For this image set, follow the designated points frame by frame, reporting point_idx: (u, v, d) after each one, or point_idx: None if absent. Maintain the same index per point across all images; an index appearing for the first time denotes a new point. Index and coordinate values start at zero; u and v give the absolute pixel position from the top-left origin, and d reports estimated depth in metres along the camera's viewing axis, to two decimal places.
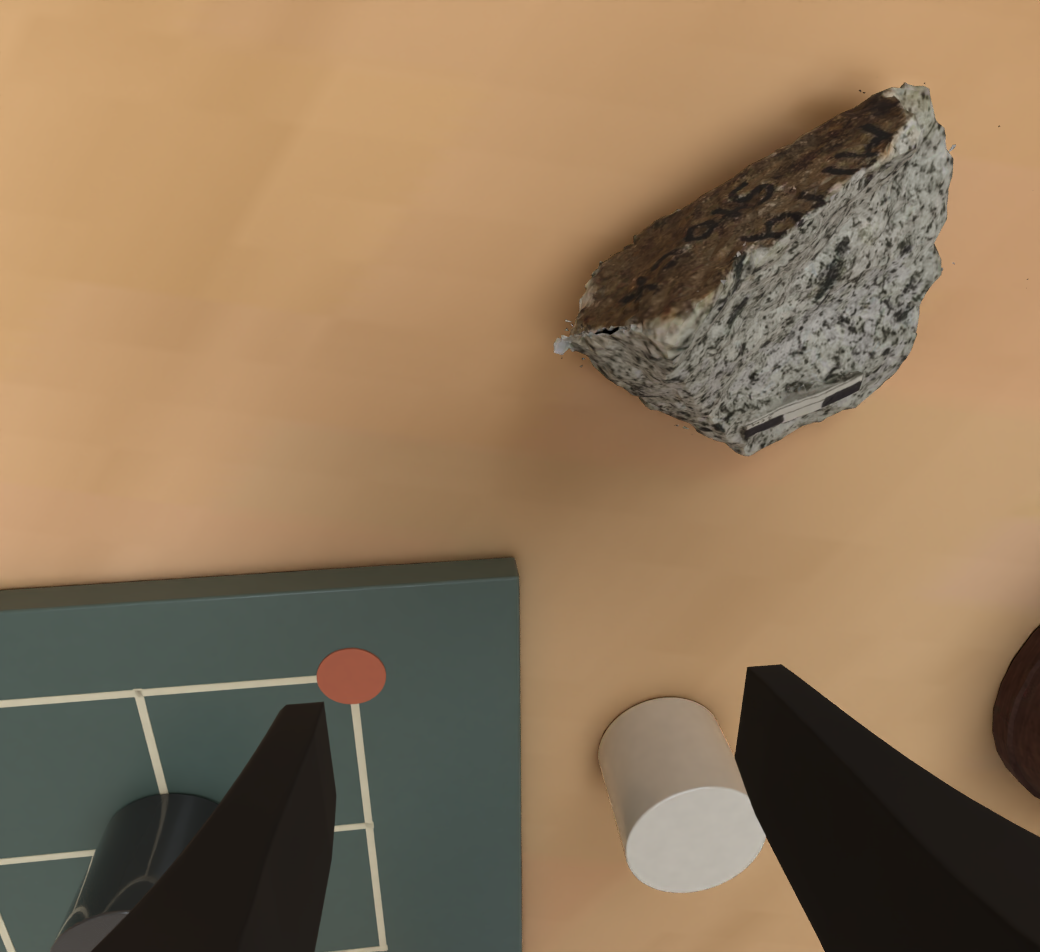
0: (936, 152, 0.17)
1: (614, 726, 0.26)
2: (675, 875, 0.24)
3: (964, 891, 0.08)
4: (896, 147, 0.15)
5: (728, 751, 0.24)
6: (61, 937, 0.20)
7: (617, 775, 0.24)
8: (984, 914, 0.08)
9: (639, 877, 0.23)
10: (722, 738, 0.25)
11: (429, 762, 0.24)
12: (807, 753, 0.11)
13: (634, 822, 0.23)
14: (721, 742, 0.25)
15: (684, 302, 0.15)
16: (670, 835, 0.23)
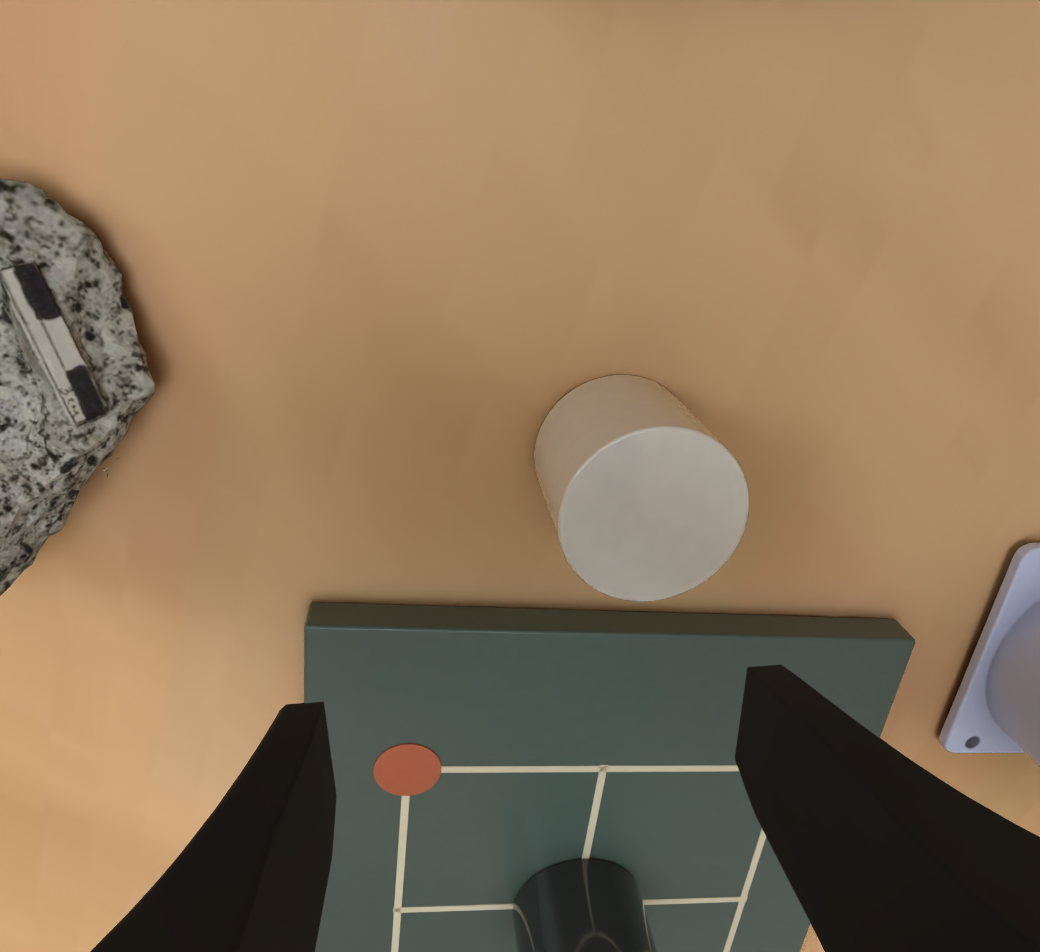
0: None
1: None
2: (705, 544, 0.18)
3: (964, 891, 0.08)
4: None
5: (580, 420, 0.18)
6: None
7: None
8: (984, 914, 0.08)
9: (692, 586, 0.18)
10: (576, 412, 0.19)
11: (534, 714, 0.23)
12: (807, 753, 0.11)
13: (597, 590, 0.18)
14: (572, 422, 0.18)
15: None
16: (630, 552, 0.18)
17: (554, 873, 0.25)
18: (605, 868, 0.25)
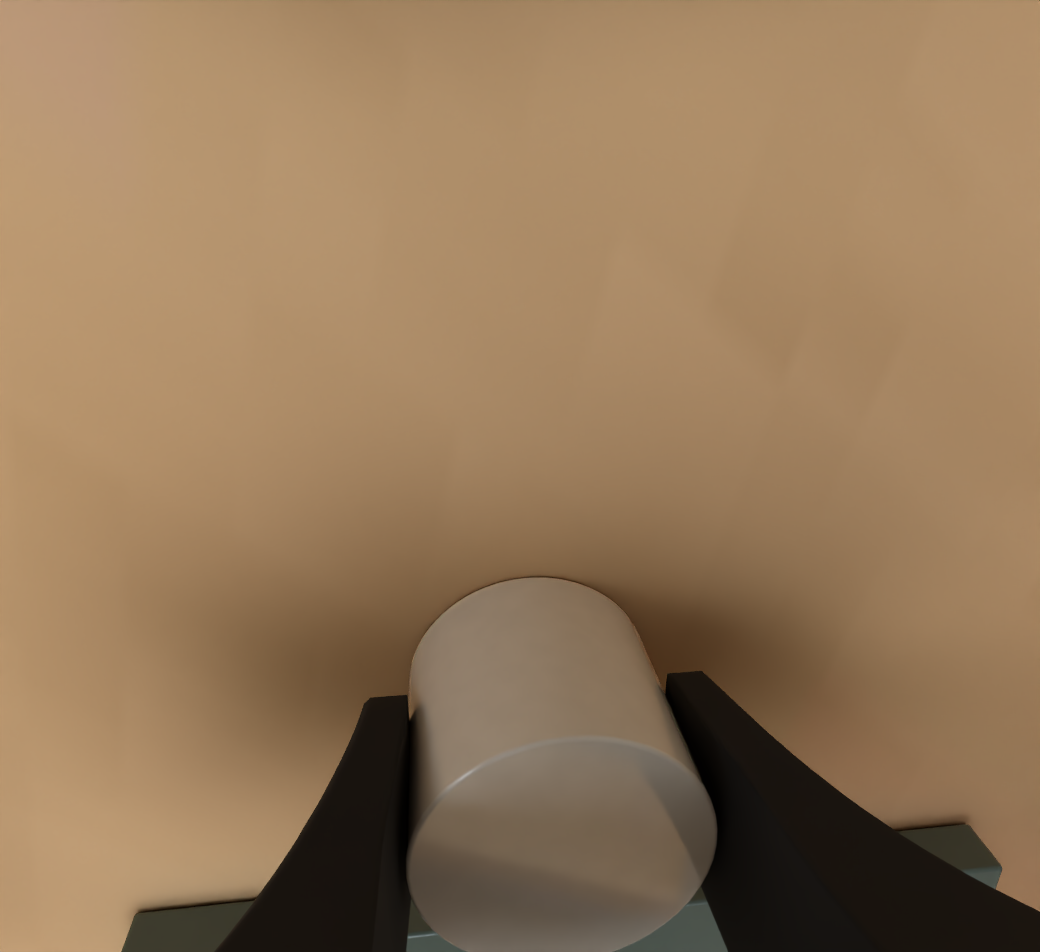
0: None
1: None
2: (654, 881, 0.11)
3: (836, 906, 0.08)
4: None
5: (443, 691, 0.12)
6: None
7: None
8: (852, 929, 0.08)
9: (644, 935, 0.11)
10: (442, 666, 0.12)
11: None
12: (714, 762, 0.11)
13: None
14: (434, 687, 0.12)
15: None
16: (534, 908, 0.11)
17: None
18: None
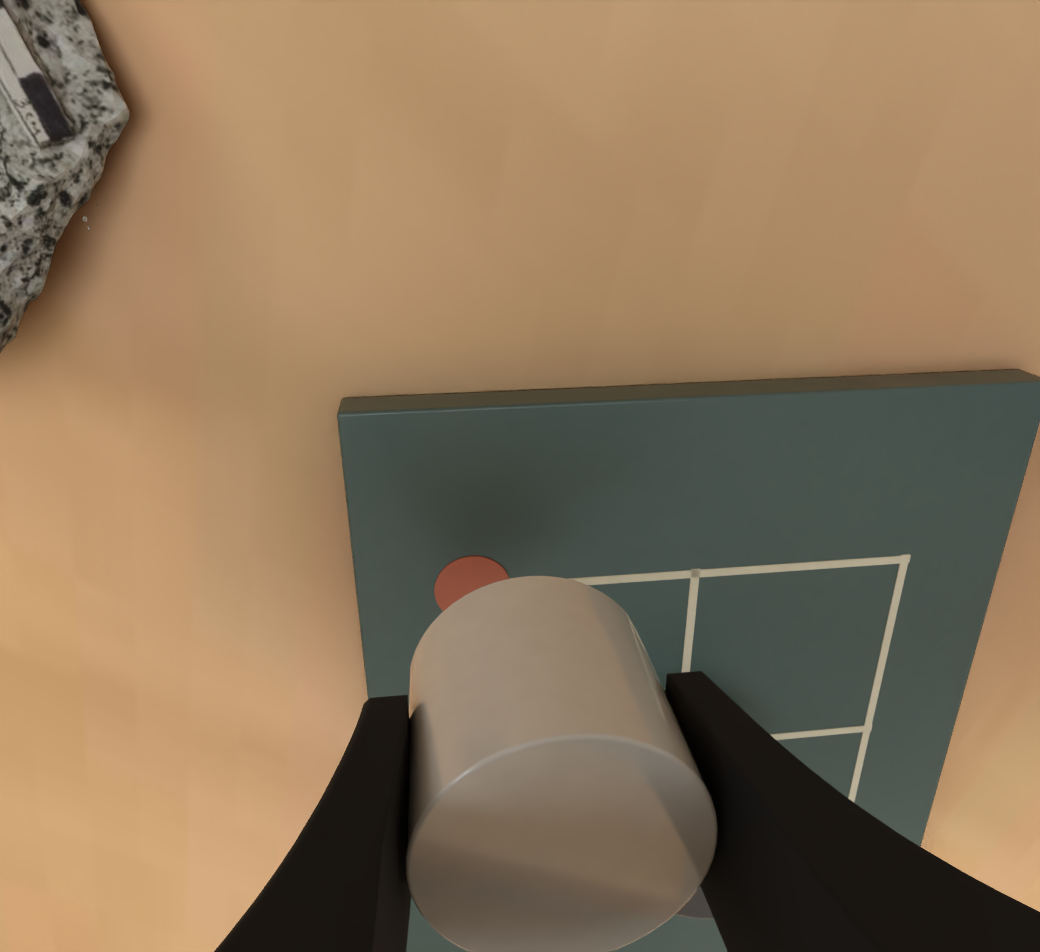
0: None
1: None
2: (654, 879, 0.11)
3: (836, 906, 0.08)
4: None
5: (443, 689, 0.12)
6: None
7: None
8: (852, 930, 0.08)
9: (644, 933, 0.11)
10: (442, 664, 0.12)
11: (610, 509, 0.20)
12: (714, 762, 0.11)
13: None
14: (434, 685, 0.12)
15: None
16: (534, 906, 0.11)
17: None
18: None
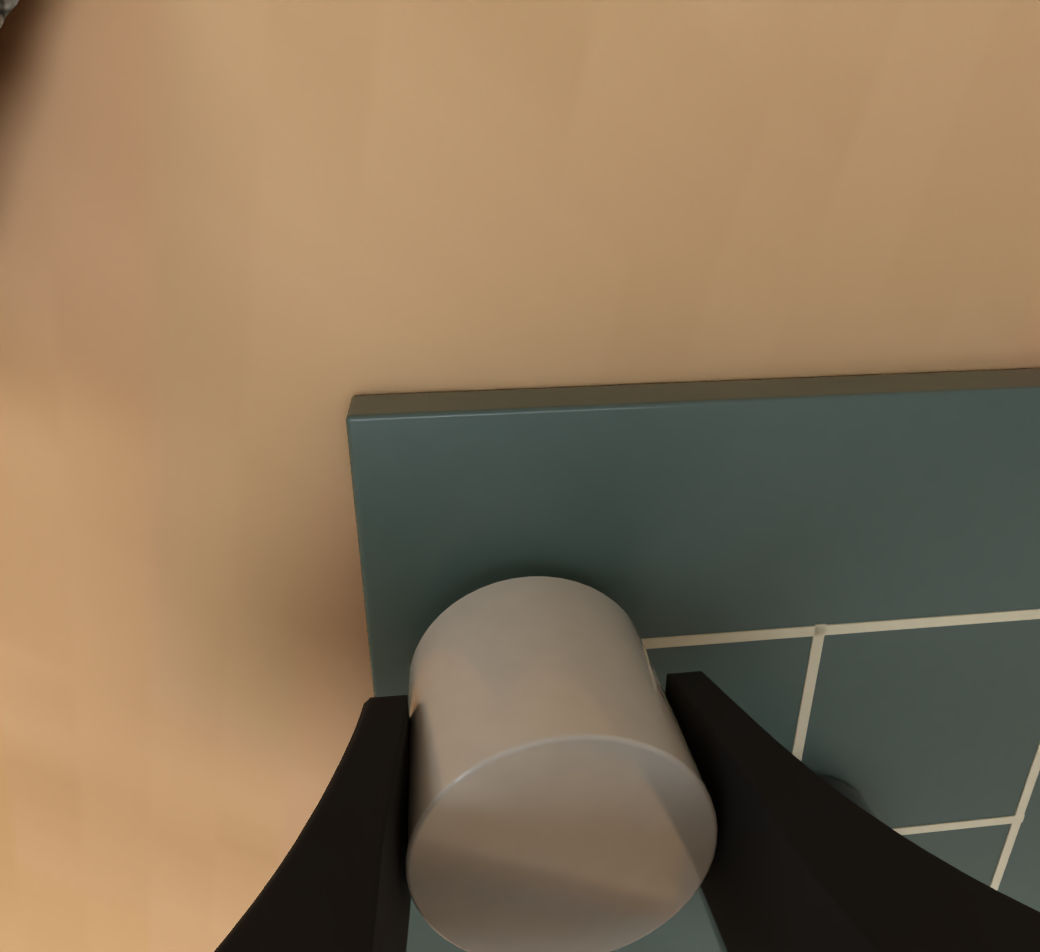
0: None
1: None
2: (654, 880, 0.11)
3: (836, 906, 0.08)
4: None
5: (442, 690, 0.12)
6: None
7: None
8: (852, 929, 0.08)
9: (644, 934, 0.11)
10: (442, 664, 0.12)
11: (714, 547, 0.15)
12: (714, 762, 0.11)
13: None
14: (434, 686, 0.12)
15: None
16: (534, 907, 0.11)
17: None
18: None
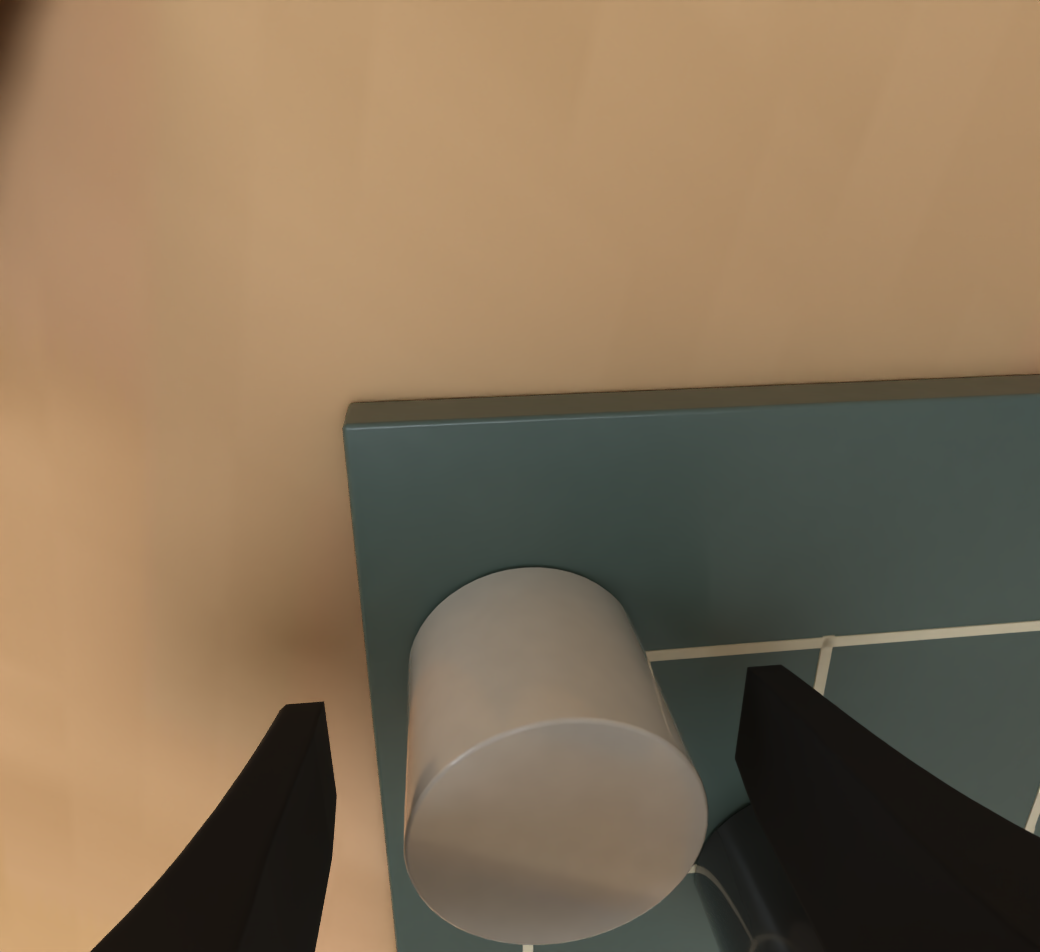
0: None
1: None
2: (647, 861, 0.11)
3: (964, 891, 0.08)
4: None
5: (440, 676, 0.12)
6: None
7: None
8: (984, 914, 0.08)
9: (637, 914, 0.12)
10: (440, 653, 0.12)
11: (720, 557, 0.14)
12: (807, 753, 0.11)
13: (491, 937, 0.12)
14: (432, 673, 0.12)
15: None
16: (529, 887, 0.11)
17: None
18: None
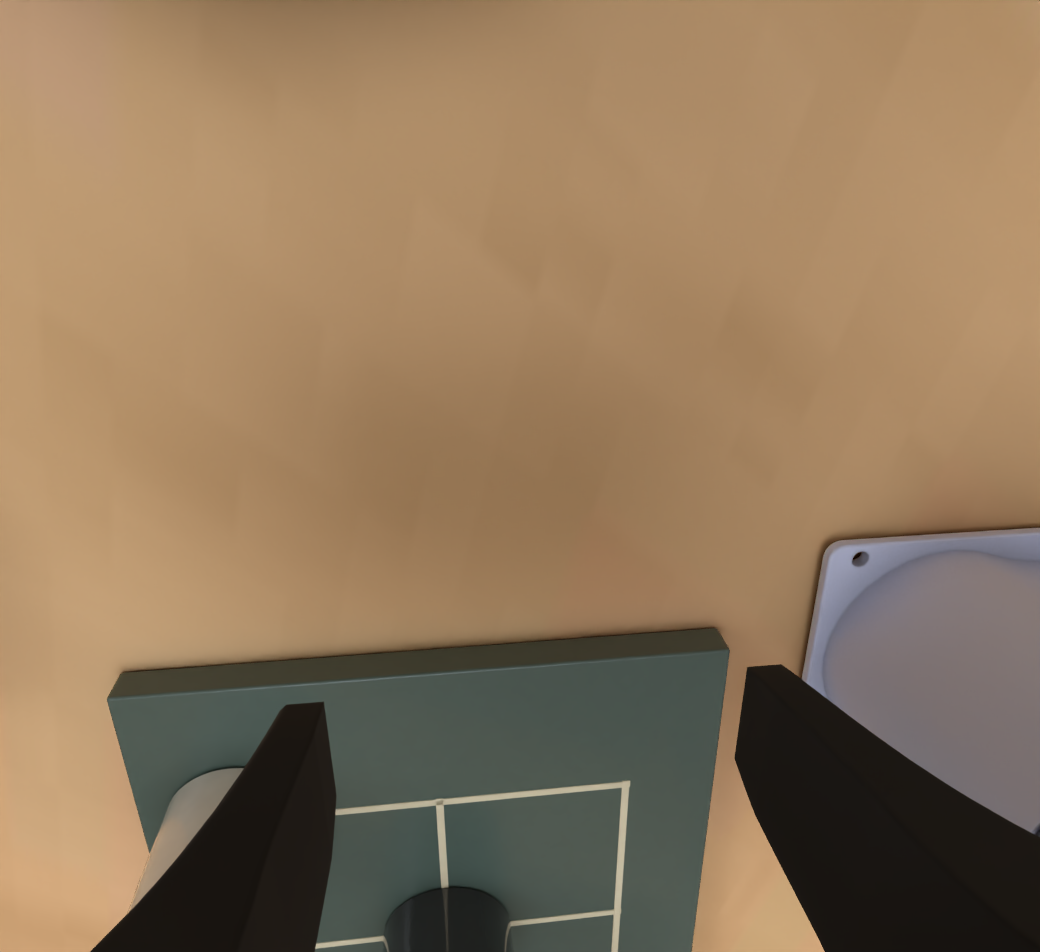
0: None
1: None
2: None
3: (964, 891, 0.08)
4: None
5: (157, 847, 0.21)
6: None
7: None
8: (984, 914, 0.08)
9: None
10: (163, 829, 0.21)
11: (355, 757, 0.23)
12: (807, 753, 0.11)
13: None
14: (156, 843, 0.21)
15: None
16: None
17: (413, 904, 0.26)
18: (463, 896, 0.26)
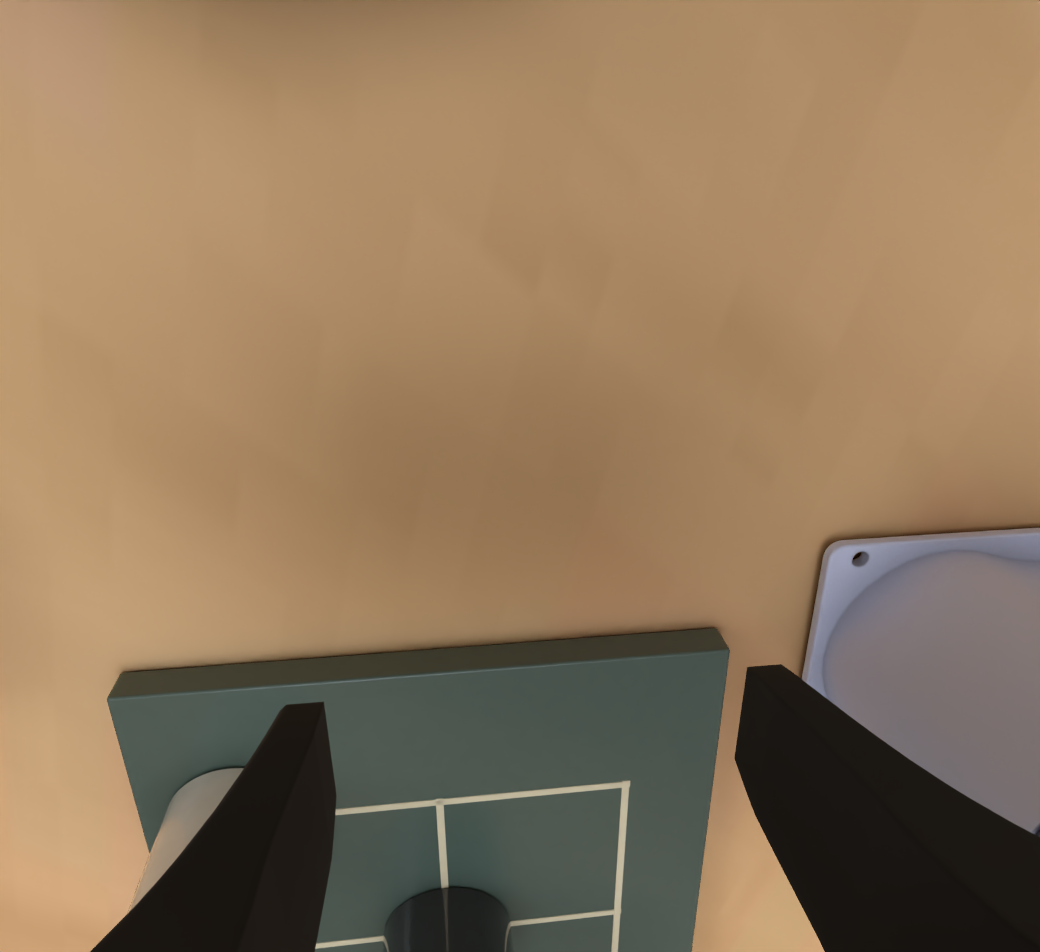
0: None
1: None
2: None
3: (964, 891, 0.08)
4: None
5: (157, 847, 0.21)
6: None
7: None
8: (984, 914, 0.08)
9: None
10: (163, 829, 0.21)
11: (355, 757, 0.23)
12: (807, 753, 0.11)
13: None
14: (156, 843, 0.21)
15: None
16: None
17: (413, 904, 0.26)
18: (463, 896, 0.26)
